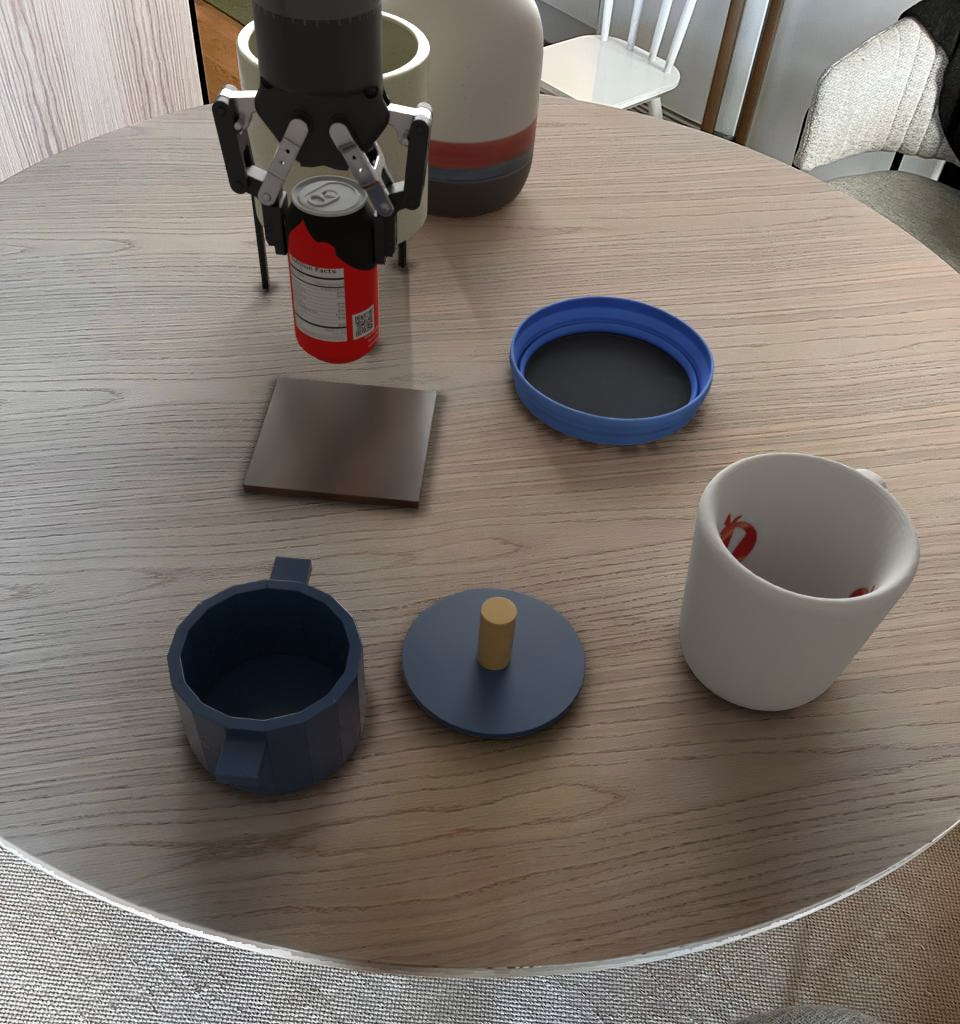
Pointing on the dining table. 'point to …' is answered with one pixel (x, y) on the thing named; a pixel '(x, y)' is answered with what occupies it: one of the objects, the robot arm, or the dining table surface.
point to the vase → (478, 99)
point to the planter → (403, 87)
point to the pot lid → (493, 663)
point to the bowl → (610, 369)
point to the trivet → (343, 443)
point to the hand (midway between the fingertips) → (332, 253)
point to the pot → (270, 682)
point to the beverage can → (332, 269)
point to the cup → (790, 576)
